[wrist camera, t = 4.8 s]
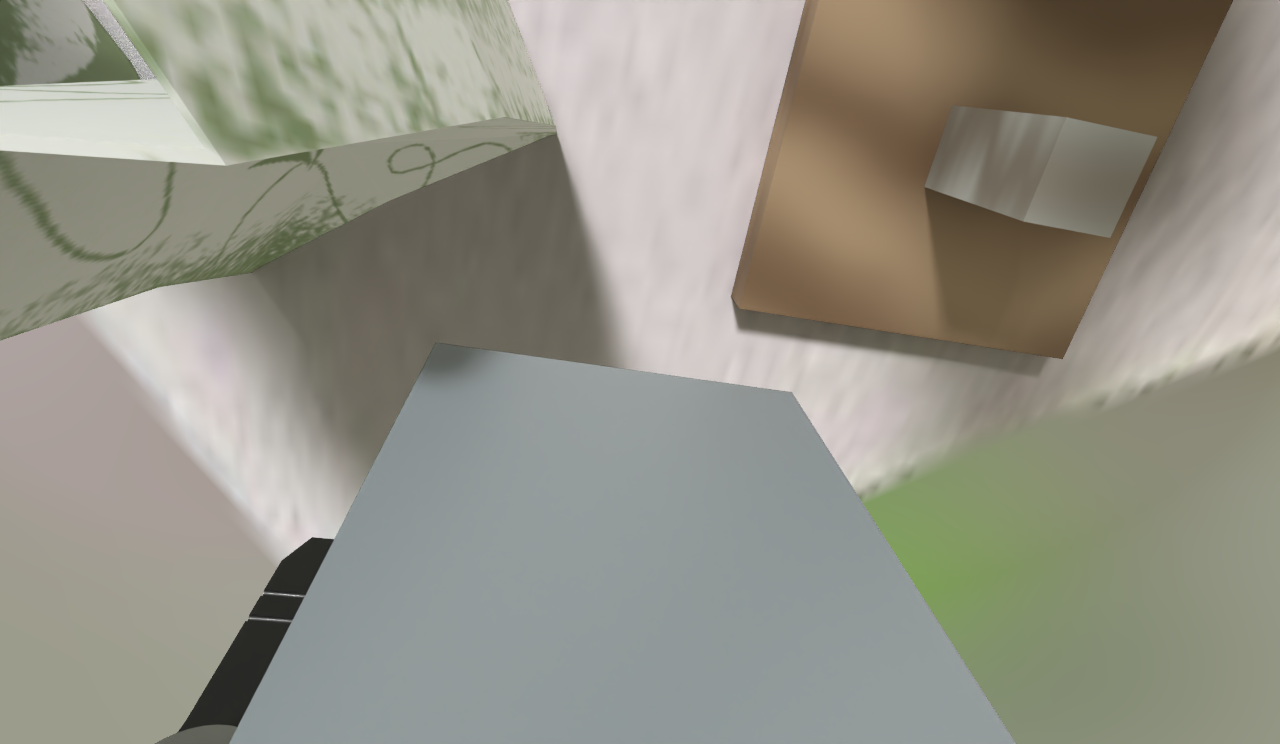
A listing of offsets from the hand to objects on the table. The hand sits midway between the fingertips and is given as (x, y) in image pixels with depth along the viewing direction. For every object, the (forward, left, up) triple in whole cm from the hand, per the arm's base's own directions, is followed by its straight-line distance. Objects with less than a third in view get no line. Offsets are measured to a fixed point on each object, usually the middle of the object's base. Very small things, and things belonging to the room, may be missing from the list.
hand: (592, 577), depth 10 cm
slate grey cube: (0, 0, -2) cm, 2 cm away
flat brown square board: (-7, +13, -17) cm, 23 cm away
